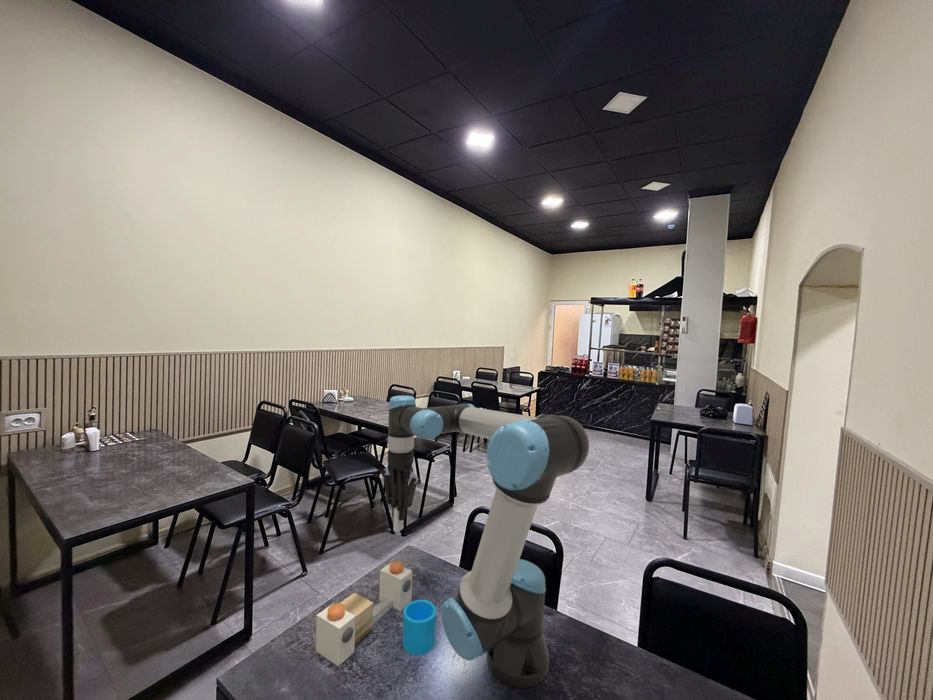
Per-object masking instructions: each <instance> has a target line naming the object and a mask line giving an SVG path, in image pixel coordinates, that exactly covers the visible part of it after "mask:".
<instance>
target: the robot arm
mask: <svg viewBox="0 0 933 700" xmlns="http://www.w3.org/2000/svg"><path fill="white" fill-rule="evenodd" d="M388 406H389V407H388V426H387V427H388V428H387V429H388V430H387V431H388V434H387V435H388V436H387V449H388V450H387V459H386V460H387V467H386V468H384V469H382V470H381V471H380V473H381V475H382V478H383V483H384V484H383V486H384V492H385V498H386V500H385V501H386V503H387V504H388V505H390V506H391V508H392V509H391V511H392V512H391V516H392V518H393V525H392V527H393V528H392V529H393V530H392V531H393V532H395V533H399V532H400V531H402V530H403V529H404V523H405V522H404V520H405V519H406V514H407V513H406V512H407V511H406V510H407V509H409V508H411V507H412V505H413V501H414V498H415V495H416V494H415V493H416V489H417V485H418V483H419V481H420V479H421V478H420V476H419V475H416V474H415V473H414V468H413V463H414V459H415V457H414V456H415V455H414V454H415V450H414V449H415V448H414V447H415V437H416V438H418V439H421V440H427V441H430V440H431V441H432V440H434V439H436V438H437V437H439V436H440V435H442V434H448V433H453V432H454V433H456V432H457V433H458V432H459V433H463V434H467V435H471V436H475V437H479V438H483V439H488V440H489V442H488V445H487V450H486V461H487V462H489V464H488V465H487V468H488V471H489V474H490V475H491V479H492V480H491V481H492V483H493V485H494V487H495V491H494V494H493V498H492V502H491V504H490V508H489V512H488V515H487V519H486V521H485V525H484V528H483V532H482V534H481V538H480V542H479V545H478V549H477V551H476V555H475V557H474V561H473V564H472V568H471V570H470V571H468V572H466V573H465V574H464V576H463V577H462V578H461V580H460V583H459V586H458V590H457V593H456V595H455V596H453V597H449V598H448V599H446V601H444V603H443V604H442V607H441V615H440V616H441V622H442V627H443V630H444V634H445V636H446V639H447V640H448V642H449V644H450V646H451V648H452V649H453V651H454V652H455V654H456V655H457V656H458V657H459V658H461V659H463V660H465V661H469V662H471V661H473V660H475V659H477V658H479V657H483V655H485V654H486V655H485V656H486V657H485V658H486V665H487V667H488V668H489V670H490V671H491V673H492V675H493V676H494V677H496V679H498V680H499V681H501V682H503V683H504V684H507V685H508V686H511V687H514V688H515V687H516V688H531V687H534V686H537V685H538V684H540V683H541V682H543V681H544V680H545V679H546V677H547V675H548V673H549V671H550V670H549V669H550V653H549V649H548V646H547V641H546V637H545V634H544V619H545V618H544V617H545V599H546V592H547V589H546V577H545V575H544V574H545V573H544V572H543V571H542V569H541V568H539V566H537V565H536V564H534V563H533V562H530V561H528V560H526V559H521V556H522V553H523V549H524V548H525V547H524V546H525V544H526V541H527V538H528V535H529V531H530V528H531V526H532V523H533V521H534V517H535V514H536V512H537V508H538V506H540V505H543V504H545V503H546V502H547V501H548V500H549V498H550V495H551V492H552V490H553V487H554V484H555V481H556V479H557V478H559V477H561V476H564V475H566V474H567V475H568V474H570V473H573V472H575V471H576V470H578V469H579V468H580V467H581V466H582V465H583V464H584V463H585V462H586V460H587V458H588V456H589V455H588V454H589V451H590V442H589V441H590V440H589V436H588V434H587V431H586V429H585V428H584V427H583V425H582V424H581V423H579V422H578V421H577V420H576V419H574V418H572V417H570V416H567V415H556V414H555V415H554V414H553V415H552V414H546V413H544V414H543V413H542V414H539V415H538V416H529V415H524V414H517V413H513V412H512V413H511V412H505V411H499V410H493V409H486V408H481V407H476V406H475V405H473V404H471V403H459V404H454V405H453V404H452V405H445V406H444V405H443V406H442V405H441V406H433V407H420V406H417V404H416V399H415V397H414V396H411V395H395V396H392V397H390V399H389V405H388Z"/></svg>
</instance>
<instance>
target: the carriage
mask: <svg viewBox="0 0 933 700" xmlns="http://www.w3.org/2000/svg"><path fill="white" fill-rule="evenodd" d="M339 603H341V604H343V605H344V606H345V610H346V611H348V612H349V613H351V614H353V615H355V616H356V618H355V645H357V643H359V642H360V641H361V640H362V639H363V638H364V637H366V636H367V635H368V634H369V633H370V632H371V627H373V625H374V624H373V608H374V602H373V601H371V600H369V599H368V598H366V597H363V596H361V595H360V594H358V593H356V592H353V593H352V594H350V595H348V596H347V597H346V598H345V599H343V600H342V601H340V602H339Z"/></svg>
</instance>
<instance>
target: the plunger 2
mask: <svg viewBox="0 0 933 700" xmlns="http://www.w3.org/2000/svg"><path fill="white" fill-rule="evenodd" d="M391 562H392V563H391ZM391 562H390V563H391V564H390V563H389V564H390V572H392V573H397V574H398V573H400V572H402V571H403V567H404V563H403V562H402V561H400V560H394V561H391Z"/></svg>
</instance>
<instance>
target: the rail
mask: <svg viewBox="0 0 933 700" xmlns="http://www.w3.org/2000/svg"><path fill="white" fill-rule="evenodd" d="M392 608H393V600H391V599H389V598H387V597H386V598H385V599H384V600H383V601H379V602H378V603H377V604H376V605H375V606H373V625H374V624H375V623H376V622H377V621H379V619H380V618H382V617H383V616H384V615H386V614H387V613H388V612H389V611H390V610H391V609H392Z"/></svg>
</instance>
